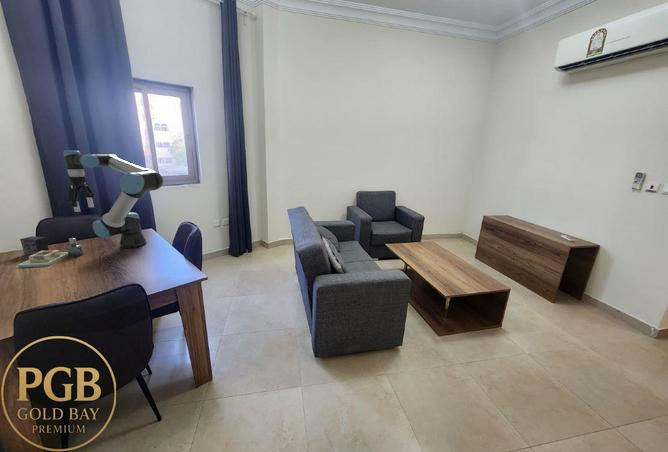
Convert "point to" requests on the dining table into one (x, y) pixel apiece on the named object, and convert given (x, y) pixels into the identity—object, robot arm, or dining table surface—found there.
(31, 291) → the dining table surface
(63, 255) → the tray
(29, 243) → the small box
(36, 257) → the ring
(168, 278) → the dining table surface
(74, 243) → the dark grey rounded piece
